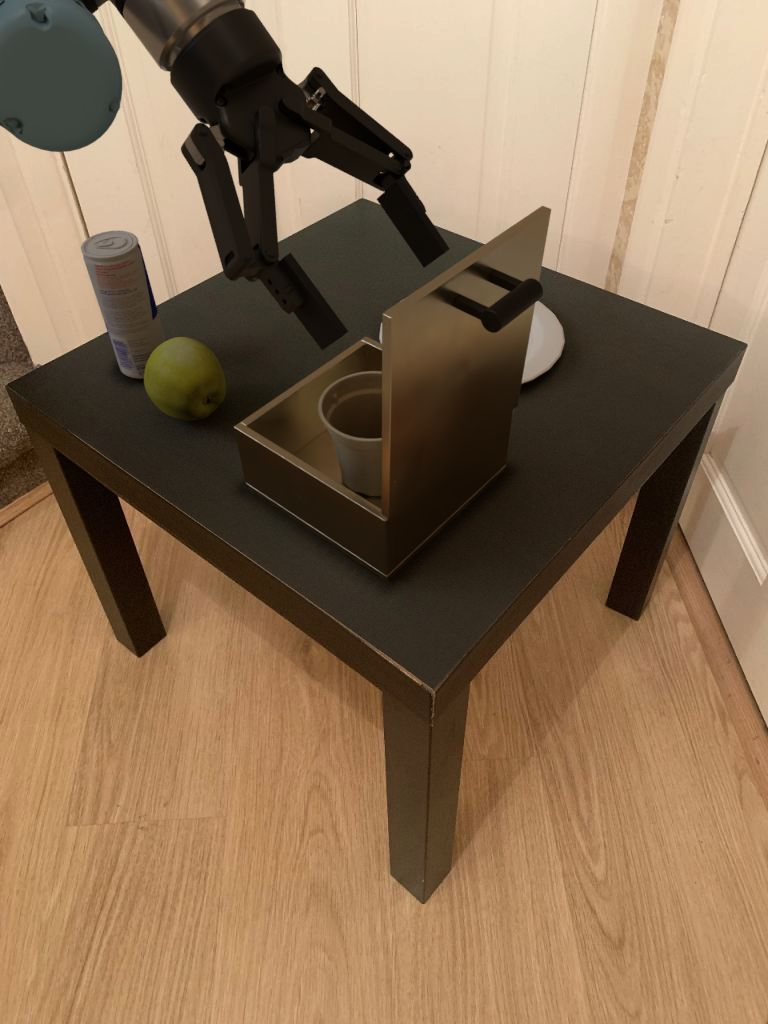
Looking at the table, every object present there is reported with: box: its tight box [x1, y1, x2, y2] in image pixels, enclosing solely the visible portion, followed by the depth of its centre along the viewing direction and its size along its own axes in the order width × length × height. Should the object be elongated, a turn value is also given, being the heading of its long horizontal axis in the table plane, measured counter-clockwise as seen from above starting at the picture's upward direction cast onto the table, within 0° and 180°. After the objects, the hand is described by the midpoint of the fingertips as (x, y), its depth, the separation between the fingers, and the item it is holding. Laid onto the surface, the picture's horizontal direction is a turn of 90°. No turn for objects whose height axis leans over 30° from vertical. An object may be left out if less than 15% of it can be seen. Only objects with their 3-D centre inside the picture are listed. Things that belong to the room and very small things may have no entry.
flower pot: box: [318, 371, 382, 496], centre depth 72 cm, size 9×9×9 cm
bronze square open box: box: [233, 336, 514, 582], centre depth 73 cm, size 18×18×8 cm
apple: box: [143, 336, 227, 421], centre depth 81 cm, size 8×9×8 cm
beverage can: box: [80, 230, 167, 380], centre depth 83 cm, size 6×6×15 cm
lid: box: [381, 205, 552, 519], centre depth 58 cm, size 18×18×5 cm
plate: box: [378, 299, 566, 386], centre depth 90 cm, size 21×21×2 cm
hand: (389, 297), depth 60 cm, fingers open, 13 cm apart
